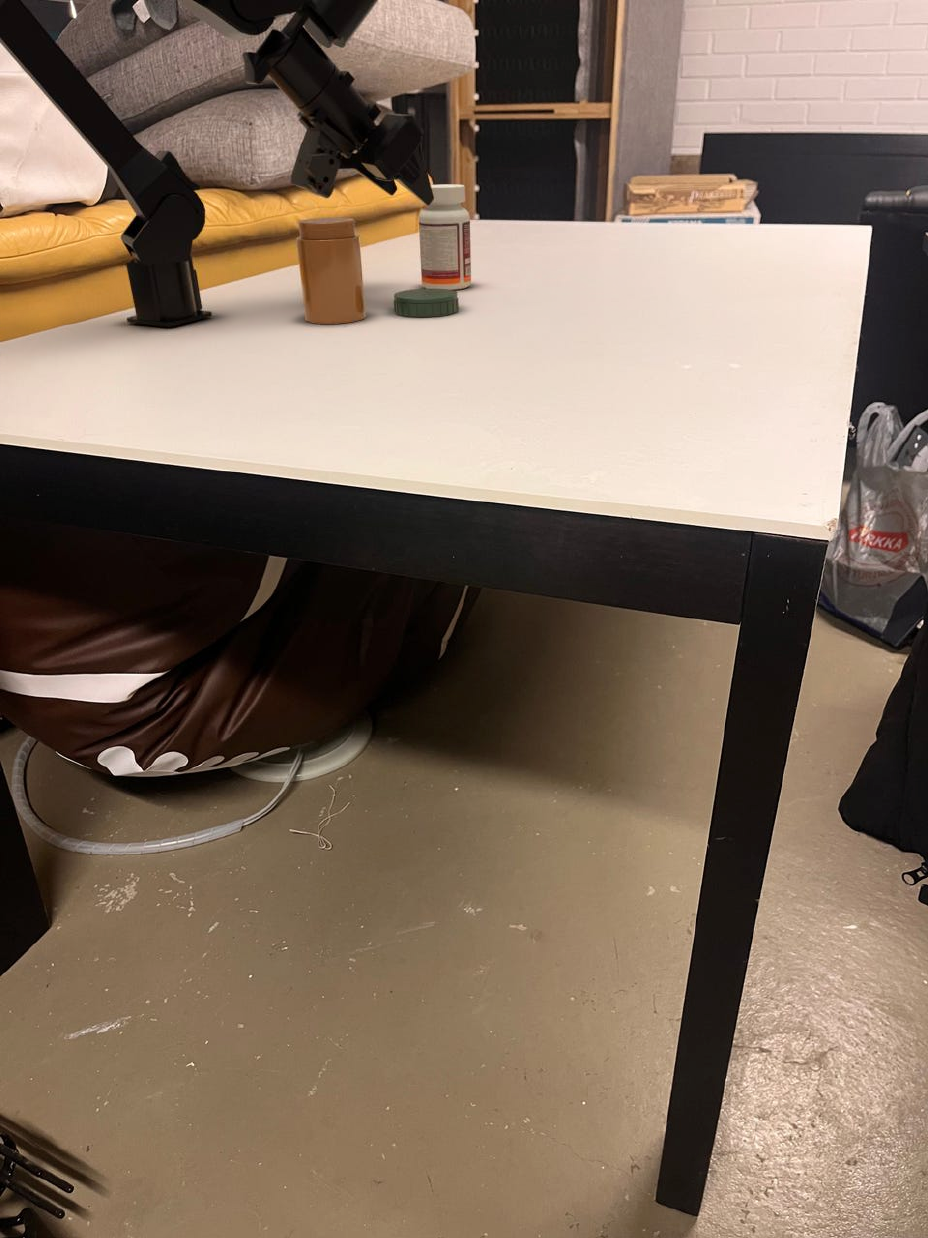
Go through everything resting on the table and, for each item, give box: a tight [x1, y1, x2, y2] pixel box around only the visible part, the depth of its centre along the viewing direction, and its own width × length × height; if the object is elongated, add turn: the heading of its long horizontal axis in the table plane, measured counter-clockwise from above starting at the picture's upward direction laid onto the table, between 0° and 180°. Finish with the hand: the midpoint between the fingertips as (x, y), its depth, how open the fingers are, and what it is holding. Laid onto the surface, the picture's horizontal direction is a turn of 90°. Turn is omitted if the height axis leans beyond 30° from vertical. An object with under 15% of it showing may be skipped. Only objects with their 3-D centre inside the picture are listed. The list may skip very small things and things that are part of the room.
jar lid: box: [393, 288, 460, 318], centre depth 95 cm, size 7×7×2 cm
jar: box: [295, 217, 367, 325], centre depth 90 cm, size 6×6×10 cm
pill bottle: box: [418, 183, 472, 291], centre depth 106 cm, size 6×6×11 cm
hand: (412, 196), depth 101 cm, fingers open, 9 cm apart
